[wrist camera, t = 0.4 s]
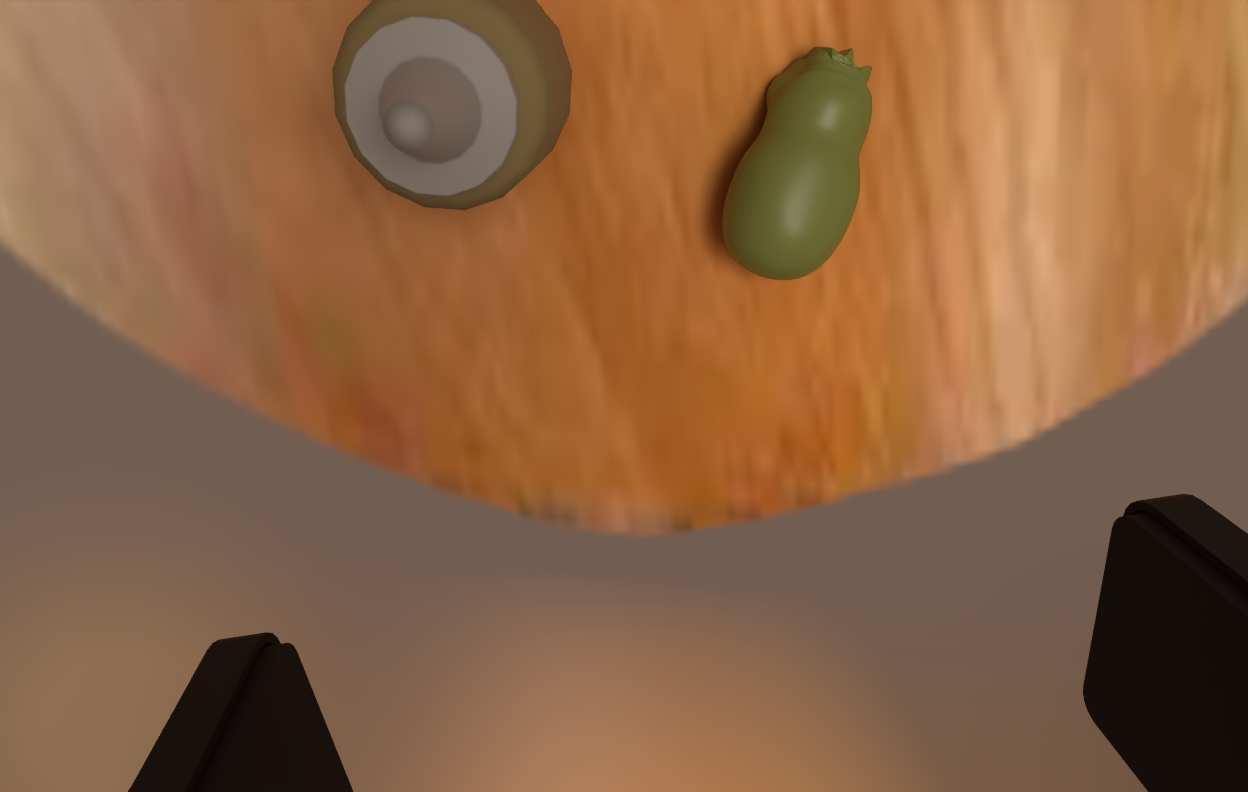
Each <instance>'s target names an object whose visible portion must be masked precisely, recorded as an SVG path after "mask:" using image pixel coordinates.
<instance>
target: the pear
mask: <svg viewBox="0 0 1248 792" xmlns="http://www.w3.org/2000/svg"><path fill="white" fill-rule="evenodd" d="M851 55H852V57H851ZM850 61H851V63H850ZM871 70H872V68H871V67H870V66H864V67H857V66H855V65H854V64H853V50H852V48H851V49H848V50H844V51H843V50H842V51H840V52H837V51H836V50H834V49H833V48H825V47H814V48H813V49H812V50H811V51H810V52H809V53H808V54H807V55H806V56H804V57H803V58H802V59H800V60H795V61H794V62H793V63H792V64H791V65H790V66H789V67H788V68H787V69H786V70H785V71H784V72H783V74H781V75H779V76H777V77H776V78H775V79H774V80H773V81H772V83H771V84H770V86H769V89H768V92H767V110H768V113H767V115H766V118H765V121H764V124H763V127H762V129H761V132H760V134H759V136H758V137H757V139H756V140H755V141H754V142H753V144H752V145H751V146H750V147H749V149H748V150H747V151H746V153H745V154H744V156H743V157H742V159H741V161H740V163H739V165H738V167H737V169H736V171H735V173H734V176H733V178H732V181H731V184H730V186H729V189H728V192H727V196H726V199H725V203H724V208H723V215H722V232H723V237H724V241H725V244H726V246H727V248H728V250H729V252H730V254H731V255H732V256H733V258H734V259H735V260H736V261H737V262H738V263H739V264H740V265H741V266H743V267H744V268H746V269H747V270H749V271H750V272H752V273H754V274H757V275H759V276H762V277H765V278H769V279H775V280H791V279H797V278H800V277H803V276H806V275H808V274H810V273H812V272H814V271H815V270H817V269H818V268H819V267H820V266H822V265H823V264H824V263H825V262H826V261H827V260H828V258H829V257H830V256H831V255H832V253H833V252H834V251H835V249H836V248H837V246H838V245H839V243H840V241H841V240H842V238H843V236H844V234H845V232H846V230H847V228H848V226H849V224H850V222H851V219H852V217H853V214H854V211H855V208H856V205H857V201H858V197H859V190H860V169H859V155H860V151H861V148H862V145H863V143H864V140H865V138H866V135H867V132H868V129H869V125H870V121H871V114H872V97H871V93H870V91H869V89H868V88H867V81H868V79H869V77H870V74H871Z"/></svg>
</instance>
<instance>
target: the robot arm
mask: <svg viewBox="0 0 1248 792" xmlns="http://www.w3.org/2000/svg"><path fill="white" fill-rule="evenodd" d="M1083 696H1084V701H1085V704H1086V708H1087V710H1088V712H1089V714H1090V716H1091V718H1092V719H1093V721H1094V723H1095V724H1096V725H1097V727H1098V728H1099V729H1100V730H1101V732H1102V733H1103V734H1104V736H1105V737H1106V738H1107V739H1108V740H1109V742H1110V743H1111V744H1112V746H1113V747H1114V748H1115V750H1116V751H1117V752H1118V754H1119V755H1120V756H1121V757H1122V759H1123V760H1124V761H1125V763H1126V764H1127V765H1128V766H1129V768H1130V769H1131V770H1132V771H1133V773H1134V774H1135V775H1136V777H1137V778H1138V779H1139V780H1140V782H1141V783H1142V784H1143V785H1144V787H1145V788H1146V789H1147V791H1148V792H1248V534H1247V533H1246V532H1244V531H1243V530H1242V529H1240V528H1239V527H1238V526H1236V525H1235V524H1233V523H1232V522H1231V521H1229V520H1228V519H1227V518H1225V517H1224V516H1222V515H1221V514H1220V513H1218V512H1217V511H1216V510H1214V509H1213V508H1212V507H1210V506H1209V505H1207V504H1206V503H1205V502H1203V501H1202V500H1200V499H1198V498H1196V497H1195V496H1193V495H1187V494H1180V495H1174V496H1167V497H1160V498H1154V499H1147V500H1141V501H1136V502H1133V503H1131V504H1130V505H1129V506H1128V507H1127V508H1126V510H1125V513H1124V515H1123V517H1119V518H1118V519H1117V520H1116V521H1115V522H1114V524H1113V527H1112V532H1111V537H1110V542H1109V548H1108V554H1107V559H1106V564H1105V570H1104V575H1103V581H1102V586H1101V592H1100V597H1099V603H1098V608H1097V614H1096V619H1095V625H1094V630H1093V636H1092V641H1091V647H1090V652H1089V658H1088V664H1087V669H1086V674H1085V680H1084V685H1083ZM128 792H353V790H352V787H351V785H350V782H349V780H348V777H347V775H346V772H345V770H344V767H343V765H342V763H341V760H340V757H339V755H338V752H337V750H336V748H335V745H334V742H333V740H332V737H331V735H330V732H329V730H328V728H327V725H326V723H325V720H324V718H323V715H322V713H321V710H320V708H319V705H318V703H317V700H316V698H315V695H314V693H313V690H312V688H311V685H310V683H309V680H308V678H307V675H306V673H305V670H304V668H303V665H302V663H301V660H300V658H299V655H298V653H297V651H296V649H295V647H294V646H293V645H292V644H291V643H284V644H281V643H280V641H279V640H278V638H277V637H276V636H275V635H274V634H273V633H260V634H253V635H248V636H240V637H233V638H227V639H221V640H217V641H216V642H214V643H212V645H211V646H210V647H209V649H208V650H207V651H206V653H205V655H204V657H203V659H202V661H201V662H200V664H199V666H198V668H197V669H196V671H195V673H194V675H193V677H192V678H191V680H190V682H189V684H188V686H187V687H186V689H185V691H184V693H183V695H182V696H181V698H180V700H179V702H178V704H177V705H176V707H175V709H174V711H173V713H172V714H171V716H170V718H169V720H168V721H167V723H166V725H165V727H164V729H163V730H162V732H161V734H160V736H159V738H158V740H157V741H156V743H155V745H154V747H153V749H152V750H151V752H150V754H149V756H148V758H147V759H146V761H145V763H144V765H143V766H142V768H141V770H140V772H139V774H138V775H137V777H136V779H135V781H134V783H133V784H132V786H131V788H130V789H129V790H128Z"/></svg>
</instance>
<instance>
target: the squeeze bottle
mask: <svg viewBox="0 0 1248 792" xmlns="http://www.w3.org/2000/svg"><path fill="white" fill-rule="evenodd" d="M571 76H572V70H571V67H570V64H569V61H568V58H567V54H566V51H565V48H564V45H563V42H562V39H561V36H560V32H559V29H558V28H557V26H556V25H555V24H554V23H553V21H552V20H551V19H550V18H549V16H548V15H547V14H546V13H545V11H544V10H543V9H542V8H541V6H540V5H539V4H538V3H537V1H536V0H373V1H372V2H371V3H370V4H369V5H368V6H367V7H366V8H365V9H364V10H363V11H362V12H361V13H360V14H359V15H358V16H357V17H356V18H355V19H354V20H353V21H352V23H351V24H350V25H349V26H348V27H347V29H346V32H345V35H344V38H343V41H342V44H341V46H340V49H339V52H338V55H337V58H336V61H335V64H334V67H333V84H334V99H335V114H336V117H337V119H338V122H339V124H340V126H341V128H342V130H343V133H344V135H345V137H346V139H347V141H348V144H349V146H350V148H351V150H352V152H353V155H354V157H355V158H356V159H357V160H358V161H359V162H360V163H361V164H362V165H363V166H364V167H365V168H366V169H367V170H368V171H369V172H370V173H371V174H372V175H373V176H374V177H375V178H376V179H377V180H378V181H379V182H380V183H381V184H382V185H383V186H384V187H385V188H386V189H387V190H390V191H392V192H394V193H396V194H398V195H400V196H402V197H404V198H407V199H409V200H411V201H413V202H415V203H417V204H419V205H421V206H423V207H432V208H446V209H461V210H466V209H469V208H472V207H475V206H478V205H481V204H484V203H487V202H490V201H493V200H496V199H498V198H501V197H503V196H504V195H505V194H507V193H508V192H509V191H510V190H511V189H512V188H513V187H514V186H515V185H516V184H518V183H519V182H520V181H521V180H522V179H523V178H524V177H525V176H526V175H527V174H529V173H530V172H531V171H532V170H533V169H534V168H535V167H536V166H537V165H538V164H539V163H540V162H541V161H542V160H543V159H544V158H545V157H546V156H547V155H548V154H549V153H550V152H551V151H552V150H553V148H554V146H555V143H556V141H557V139H558V137H559V135H560V133H561V130H562V128H563V126H564V124H565V122H566V120H567V117H568V115H569V113H570V94H571Z"/></svg>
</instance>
